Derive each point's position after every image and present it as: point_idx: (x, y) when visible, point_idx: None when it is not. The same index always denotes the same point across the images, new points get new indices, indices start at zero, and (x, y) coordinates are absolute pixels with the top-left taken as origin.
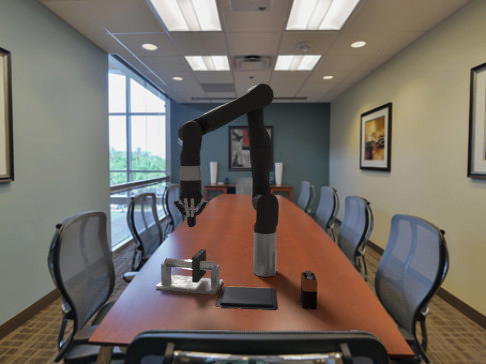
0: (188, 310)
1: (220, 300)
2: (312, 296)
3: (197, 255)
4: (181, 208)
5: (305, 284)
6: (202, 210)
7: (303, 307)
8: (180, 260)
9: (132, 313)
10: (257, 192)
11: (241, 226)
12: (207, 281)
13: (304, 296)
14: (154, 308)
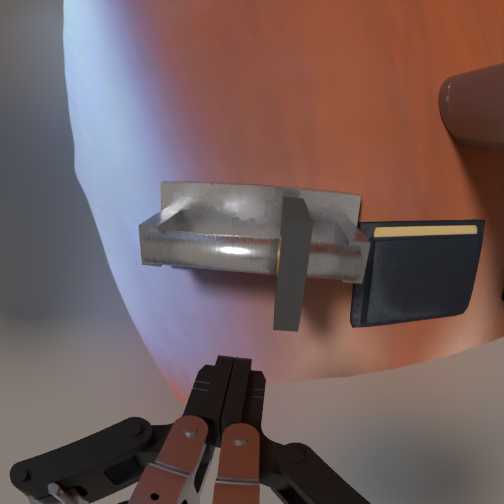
0: (293, 343)
1: (363, 311)
2: None
3: (292, 312)
4: (121, 489)
5: None
6: (334, 485)
7: (502, 299)
8: (207, 265)
9: (185, 357)
10: None
11: None
12: (311, 215)
13: None
14: (216, 342)
